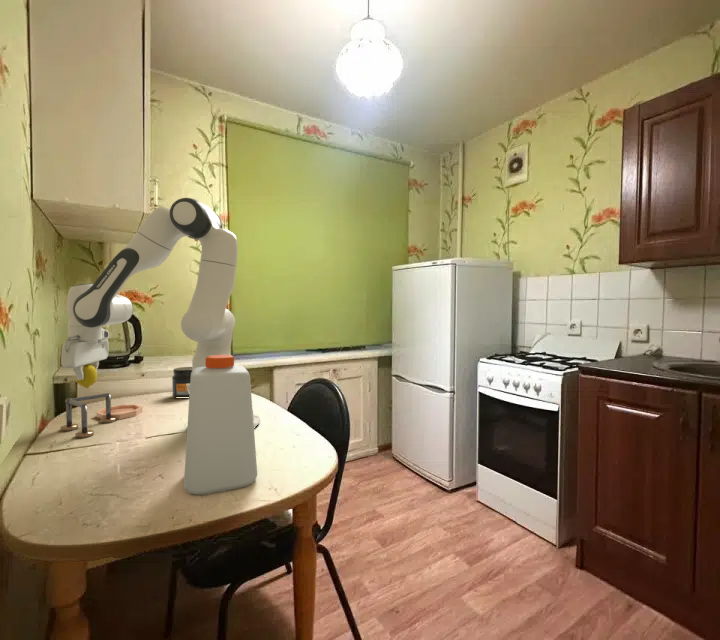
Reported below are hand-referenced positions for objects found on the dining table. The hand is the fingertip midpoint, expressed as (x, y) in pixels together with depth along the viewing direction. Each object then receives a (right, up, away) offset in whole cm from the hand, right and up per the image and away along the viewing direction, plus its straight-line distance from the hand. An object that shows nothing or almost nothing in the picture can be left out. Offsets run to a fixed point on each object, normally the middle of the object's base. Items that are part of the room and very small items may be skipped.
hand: (87, 377), depth 120 cm
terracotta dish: (+2, -15, +13) cm, 20 cm away
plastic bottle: (+56, -18, -35) cm, 69 cm away
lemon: (0, -4, 0) cm, 4 cm away
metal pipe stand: (+1, -16, -2) cm, 16 cm away
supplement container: (+13, -15, +40) cm, 45 cm away
